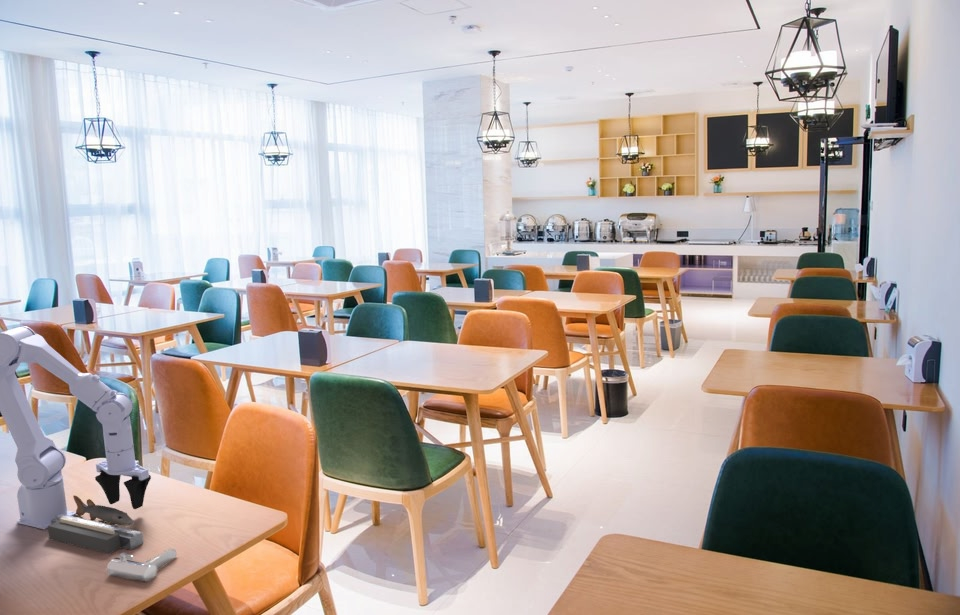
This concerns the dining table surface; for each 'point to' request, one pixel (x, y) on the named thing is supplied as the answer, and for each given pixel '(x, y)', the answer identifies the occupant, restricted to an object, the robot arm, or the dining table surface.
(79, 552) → the dining table surface
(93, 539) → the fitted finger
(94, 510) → the fish
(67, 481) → the dining table surface
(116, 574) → the silver l-shaped piece
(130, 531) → the rail
